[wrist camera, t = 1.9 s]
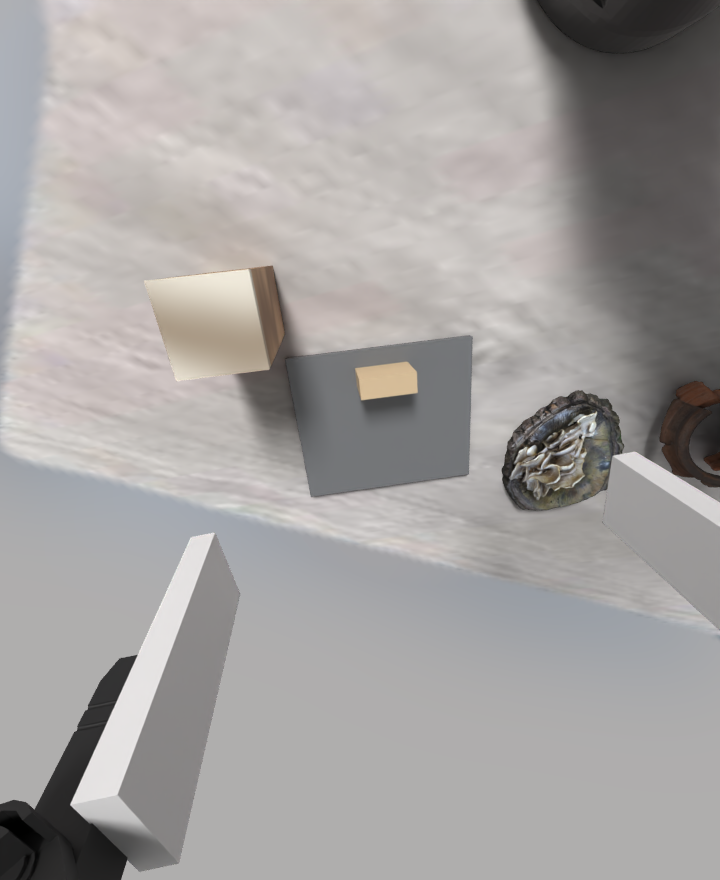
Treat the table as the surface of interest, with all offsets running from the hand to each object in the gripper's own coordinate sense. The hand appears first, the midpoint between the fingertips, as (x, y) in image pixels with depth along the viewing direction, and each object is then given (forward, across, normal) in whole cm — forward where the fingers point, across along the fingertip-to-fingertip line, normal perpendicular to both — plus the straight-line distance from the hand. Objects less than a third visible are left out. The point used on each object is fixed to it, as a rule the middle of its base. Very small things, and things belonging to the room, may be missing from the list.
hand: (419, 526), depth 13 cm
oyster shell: (+19, +17, -11) cm, 28 cm away
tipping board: (+19, +1, -4) cm, 19 cm away
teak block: (+19, -7, +6) cm, 21 cm away
